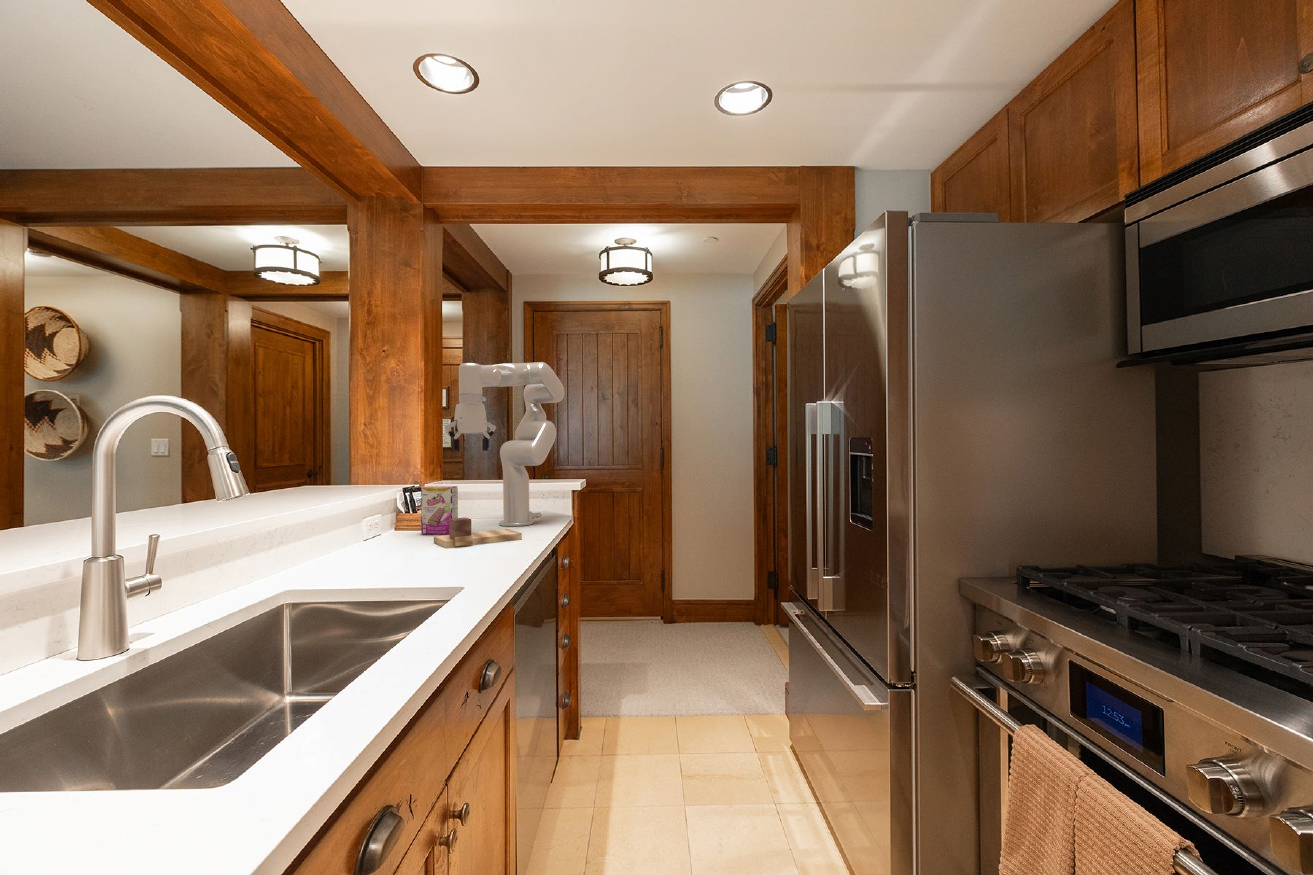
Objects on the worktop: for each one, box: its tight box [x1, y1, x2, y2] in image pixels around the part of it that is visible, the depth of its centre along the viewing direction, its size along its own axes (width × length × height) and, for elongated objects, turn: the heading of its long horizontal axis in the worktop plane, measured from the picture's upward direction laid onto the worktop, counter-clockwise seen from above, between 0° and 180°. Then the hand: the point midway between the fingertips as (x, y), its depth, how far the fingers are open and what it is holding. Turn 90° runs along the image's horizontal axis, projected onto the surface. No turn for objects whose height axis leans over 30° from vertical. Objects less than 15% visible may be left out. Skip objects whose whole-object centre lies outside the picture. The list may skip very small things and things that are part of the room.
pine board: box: [433, 528, 523, 549], centre depth 193 cm, size 24×12×2 cm, turn 126°
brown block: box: [449, 516, 473, 547], centre depth 185 cm, size 5×6×8 cm
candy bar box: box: [420, 485, 459, 536], centre depth 208 cm, size 11×5×16 cm, turn 84°
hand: (471, 450), depth 206 cm, fingers open, 9 cm apart
